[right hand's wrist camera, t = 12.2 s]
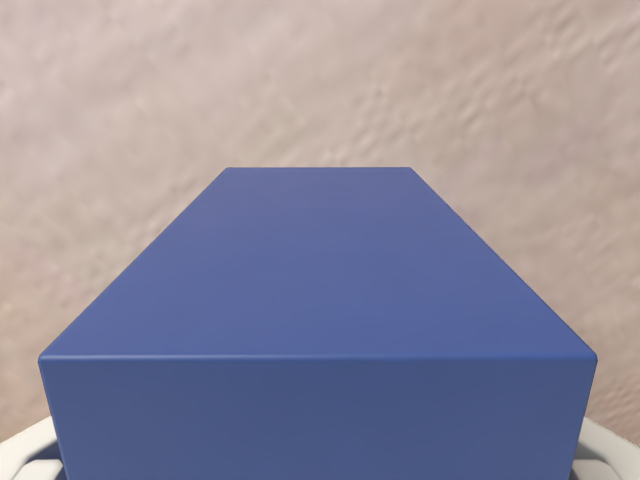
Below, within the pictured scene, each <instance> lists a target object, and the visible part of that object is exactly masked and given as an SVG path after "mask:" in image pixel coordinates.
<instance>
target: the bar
mask: <svg viewBox="0 0 640 480" xmlns="http://www.w3.org/2000/svg"><path fill="white" fill-rule="evenodd" d="M597 361H598V360H597V355H596V353H595V352H594V351H593V350H592V349H591V348H590V347H589V346H588V345H587V344H586V343H585V342H584V341H583V340H582V339H581V338H580V337H579V336H578V335H577V334H576V333H575V332H574V331H573V330H572V329H571V328H570V327H569V326H568V325H567V324H566V323H565V322H564V321H563V320H562V319H561V318H560V317H559V316H558V315H557V314H556V313H555V312H554V311H553V310H552V309H551V308H550V307H549V306H548V305H547V304H546V303H545V302H544V301H543V300H542V299H541V298H540V297H539V296H538V295H537V294H536V293H535V292H534V291H533V290H532V289H531V288H530V287H529V286H528V285H527V284H526V283H525V282H524V281H523V280H522V279H521V278H520V277H519V276H518V275H517V274H516V273H515V272H514V271H513V270H512V269H511V268H510V267H509V266H508V265H507V264H506V263H505V262H504V261H503V260H502V259H501V258H500V257H499V256H498V255H497V254H496V253H495V252H494V251H493V250H492V249H491V248H490V247H489V246H488V245H487V244H486V243H485V242H484V241H483V240H482V239H481V238H480V237H479V236H478V235H477V234H476V233H475V232H474V231H473V230H472V229H471V228H470V227H469V226H468V225H467V224H466V223H465V222H464V221H463V220H462V219H461V218H460V217H459V216H458V215H457V214H456V213H455V212H454V211H453V210H452V209H451V208H450V207H449V206H448V205H447V204H446V203H445V202H444V201H443V200H442V199H441V198H440V197H439V196H438V195H437V194H436V193H435V192H434V191H433V190H432V189H431V188H430V187H429V186H428V185H427V184H426V183H425V182H424V181H423V180H422V179H421V178H420V177H419V176H418V175H417V174H416V173H415V172H414V171H413V170H412V169H411V168H410V167H351V168H226V169H225V170H224V171H223V172H222V173H221V174H220V175H219V176H218V177H217V178H216V179H215V180H214V181H213V182H212V183H211V184H210V185H209V186H208V187H207V188H206V189H205V190H204V191H203V192H202V193H201V194H200V195H199V196H198V197H197V198H196V199H195V200H194V201H193V202H192V203H191V204H190V205H189V206H188V207H187V208H186V209H185V210H184V211H183V212H182V213H181V214H180V215H179V216H178V217H177V218H176V219H175V220H174V221H173V222H172V223H171V224H170V225H169V226H168V227H167V228H166V229H165V230H164V231H163V232H162V233H161V234H160V235H159V236H158V237H157V238H156V239H155V240H154V241H153V242H152V243H151V244H150V245H149V246H148V247H147V248H146V249H145V250H144V251H143V252H142V253H141V254H140V255H139V256H138V257H137V258H136V259H135V260H134V261H133V262H132V263H131V264H130V265H129V266H128V267H127V268H126V269H125V270H124V271H123V272H122V273H121V274H120V275H119V276H118V277H117V278H116V279H115V280H114V281H113V282H112V283H111V284H110V285H109V286H108V287H107V288H106V289H105V290H104V291H103V292H102V293H101V294H100V295H99V296H98V297H97V298H96V299H95V300H94V301H93V302H92V303H91V304H90V305H89V306H88V307H87V308H86V309H85V310H84V311H83V312H82V313H81V314H80V315H79V316H78V317H77V318H76V319H75V320H74V321H73V322H72V323H71V324H70V325H69V326H68V327H67V328H66V329H65V330H64V331H63V332H62V333H61V334H60V335H59V336H58V337H57V338H56V339H55V340H54V341H53V342H52V343H51V344H50V345H49V346H48V347H47V348H46V349H45V350H44V351H43V352H42V353H41V354H40V356H39V358H38V365H39V369H40V373H41V377H42V381H43V385H44V389H45V393H46V397H47V401H48V405H49V409H50V413H51V417H52V421H53V425H54V429H55V433H56V437H57V441H58V445H59V449H60V453H61V457H62V461H63V465H64V469H65V473H66V477H67V480H569V476H570V472H571V468H572V464H573V460H574V456H575V452H576V448H577V443H578V439H579V435H580V431H581V427H582V423H583V419H584V415H585V411H586V406H587V402H588V398H589V394H590V390H591V386H592V382H593V378H594V374H595V369H596V365H597Z"/></svg>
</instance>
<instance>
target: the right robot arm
mask: <svg viewBox="0 0 640 480" xmlns="http://www.w3.org/2000/svg"><path fill="white" fill-rule="evenodd" d="M0 480H67V477H66V473H65V469H64V465H63V461H62V457H61V453H60V449H59V445H58V441H57V437H56V433H55V429H54V425H53V421H52V417H51V416H49V417H47V418H45V419H44V420H42V421H40V422H38V423H36V424H35V425H33V426H31V427H29V428H27V429H26V430H24V431H22V432H20V433H18V434H16V435H15V436H13V437H11V438H9V439H7V440H6V441H4V442H2V443H0ZM569 480H640V447H639V446H637V445H635V444H634V443H632V442H630V441H628V440H627V439H625V438H623V437H621V436H619V435H618V434H616V433H614V432H612V431H610V430H609V429H607V428H605V427H603V426H602V425H600V424H598V423H596V422H594V421H593V420H591V419H589V418H587V417H585V416H584V419H583V423H582V427H581V431H580V435H579V439H578V443H577V448H576V452H575V456H574V460H573V464H572V468H571V472H570V476H569Z"/></svg>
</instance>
